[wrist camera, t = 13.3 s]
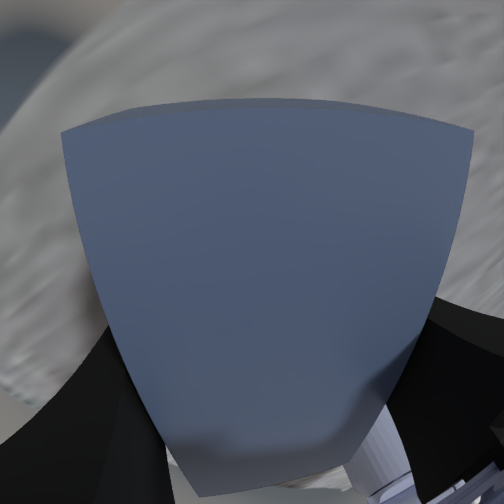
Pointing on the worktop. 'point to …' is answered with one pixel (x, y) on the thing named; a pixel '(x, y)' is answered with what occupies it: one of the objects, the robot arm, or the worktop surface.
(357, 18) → the worktop surface
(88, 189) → the slate blue block
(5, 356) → the worktop surface
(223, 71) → the worktop surface
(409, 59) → the worktop surface
